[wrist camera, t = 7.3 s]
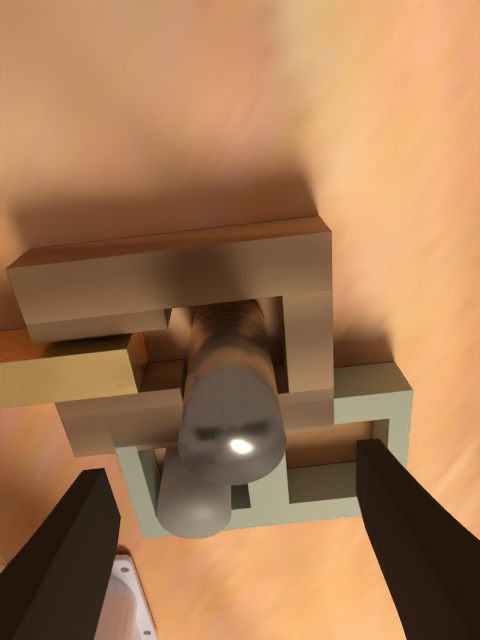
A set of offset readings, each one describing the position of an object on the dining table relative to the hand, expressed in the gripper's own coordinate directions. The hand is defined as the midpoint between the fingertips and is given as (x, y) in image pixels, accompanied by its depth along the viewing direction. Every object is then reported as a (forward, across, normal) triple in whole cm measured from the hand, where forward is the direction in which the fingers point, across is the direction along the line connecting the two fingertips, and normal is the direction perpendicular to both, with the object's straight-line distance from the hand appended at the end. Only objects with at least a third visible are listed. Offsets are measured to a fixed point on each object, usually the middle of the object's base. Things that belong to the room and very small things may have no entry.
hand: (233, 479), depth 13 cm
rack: (+9, -1, +7) cm, 12 cm away
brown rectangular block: (+9, +8, 0) cm, 12 cm away
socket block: (+9, +2, 0) cm, 10 cm away
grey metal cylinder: (+9, 0, 0) cm, 9 cm away
